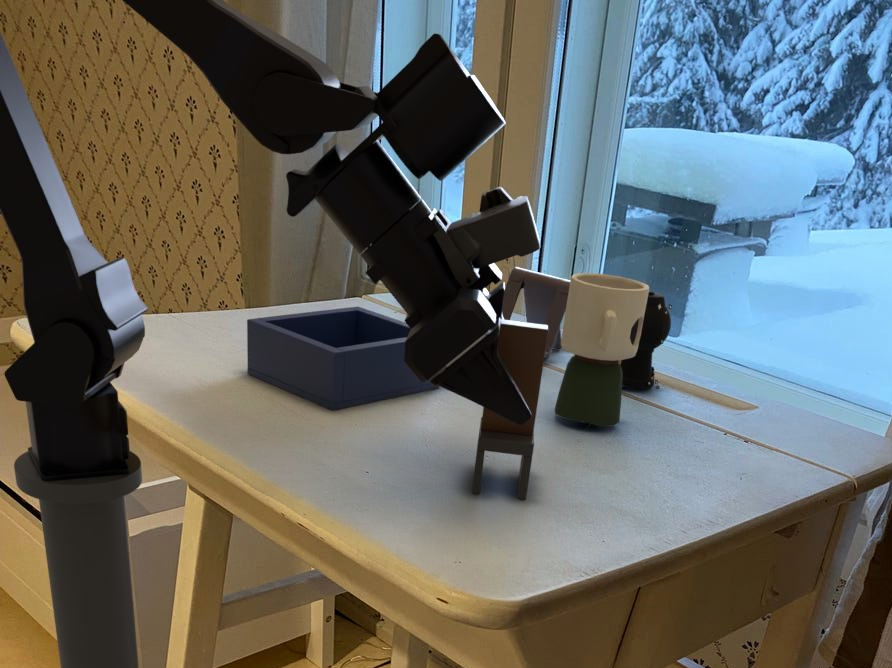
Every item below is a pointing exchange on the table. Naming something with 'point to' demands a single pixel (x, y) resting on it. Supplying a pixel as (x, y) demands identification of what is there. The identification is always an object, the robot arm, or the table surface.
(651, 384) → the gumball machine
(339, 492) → the table surface
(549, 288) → the tablet stand
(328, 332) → the box
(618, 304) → the character mug
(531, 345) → the tall backed stool
